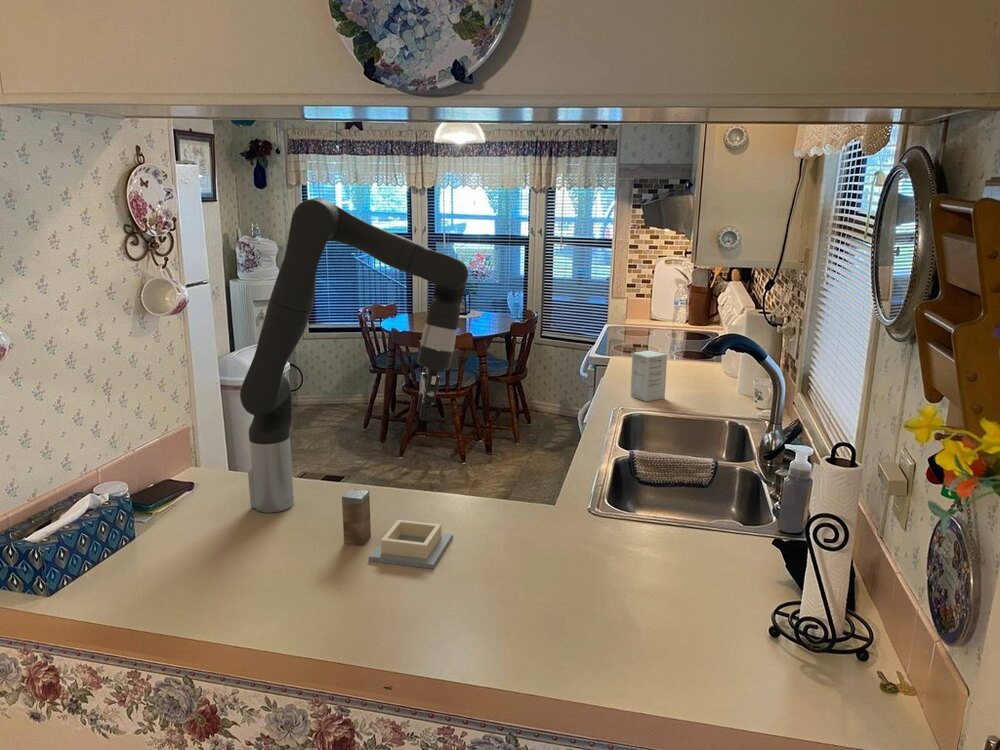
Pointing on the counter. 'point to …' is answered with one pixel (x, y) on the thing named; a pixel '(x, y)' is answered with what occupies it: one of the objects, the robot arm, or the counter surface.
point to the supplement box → (648, 375)
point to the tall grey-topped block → (356, 517)
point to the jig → (412, 544)
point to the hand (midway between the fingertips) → (422, 416)
